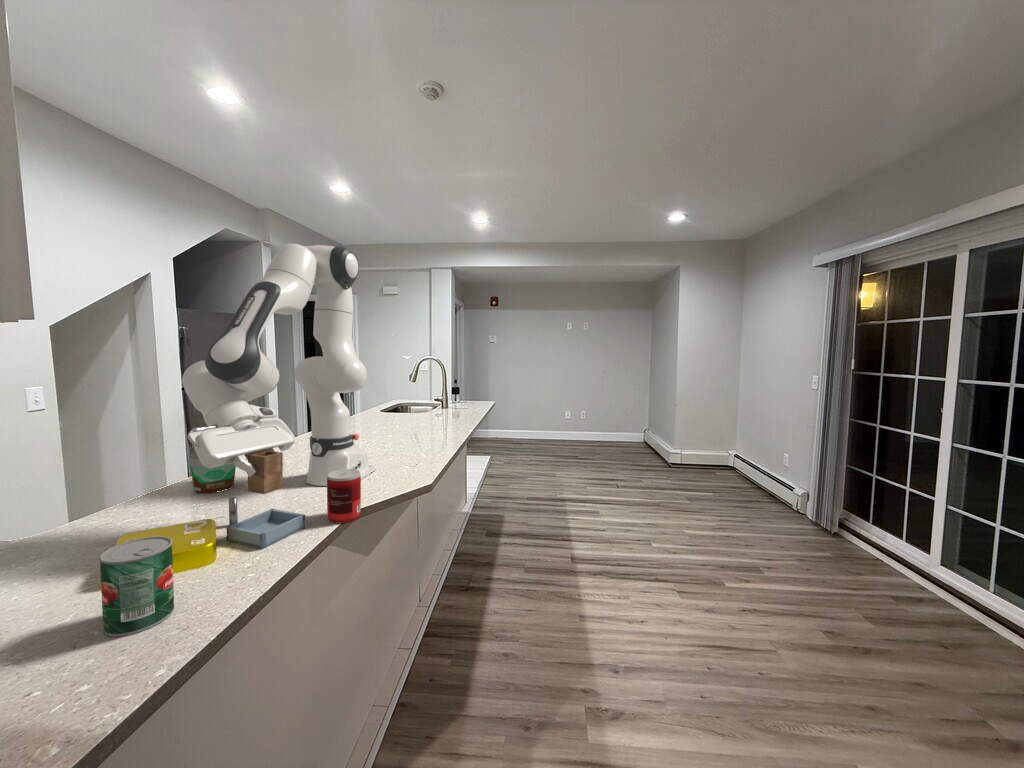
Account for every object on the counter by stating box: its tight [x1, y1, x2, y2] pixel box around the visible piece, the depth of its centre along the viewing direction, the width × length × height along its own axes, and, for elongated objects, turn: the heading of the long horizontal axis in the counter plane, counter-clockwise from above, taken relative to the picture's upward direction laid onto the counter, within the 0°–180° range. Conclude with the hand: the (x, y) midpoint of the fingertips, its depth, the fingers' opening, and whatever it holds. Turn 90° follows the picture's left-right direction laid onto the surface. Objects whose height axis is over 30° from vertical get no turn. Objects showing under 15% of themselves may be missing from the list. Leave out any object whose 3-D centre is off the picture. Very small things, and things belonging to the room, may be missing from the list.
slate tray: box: [226, 508, 307, 550], centre depth 88 cm, size 11×10×3 cm
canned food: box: [326, 469, 362, 524], centre depth 98 cm, size 8×8×11 cm
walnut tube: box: [247, 451, 284, 495], centre depth 87 cm, size 5×5×8 cm
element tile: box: [114, 518, 218, 575], centre depth 77 cm, size 15×15×5 cm
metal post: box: [228, 496, 239, 526], centre depth 91 cm, size 2×2×6 cm
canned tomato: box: [99, 536, 175, 637], centre depth 59 cm, size 8×8×11 cm
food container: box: [186, 457, 237, 494], centre depth 113 cm, size 12×6×10 cm, turn 143°
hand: (267, 470), depth 86 cm, fingers closed on walnut tube, 5 cm apart
